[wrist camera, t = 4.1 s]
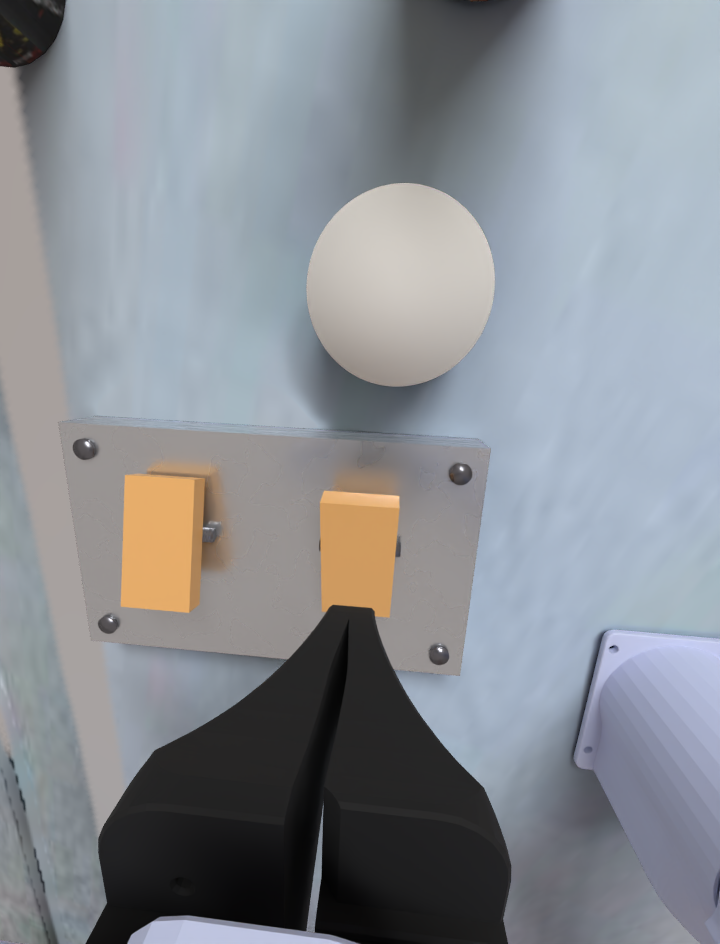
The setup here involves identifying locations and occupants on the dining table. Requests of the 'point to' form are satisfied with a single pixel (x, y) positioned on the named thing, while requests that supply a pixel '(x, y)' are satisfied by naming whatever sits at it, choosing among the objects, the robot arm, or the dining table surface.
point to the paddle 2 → (358, 549)
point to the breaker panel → (280, 531)
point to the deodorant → (27, 29)
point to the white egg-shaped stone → (400, 284)
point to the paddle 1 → (162, 542)
